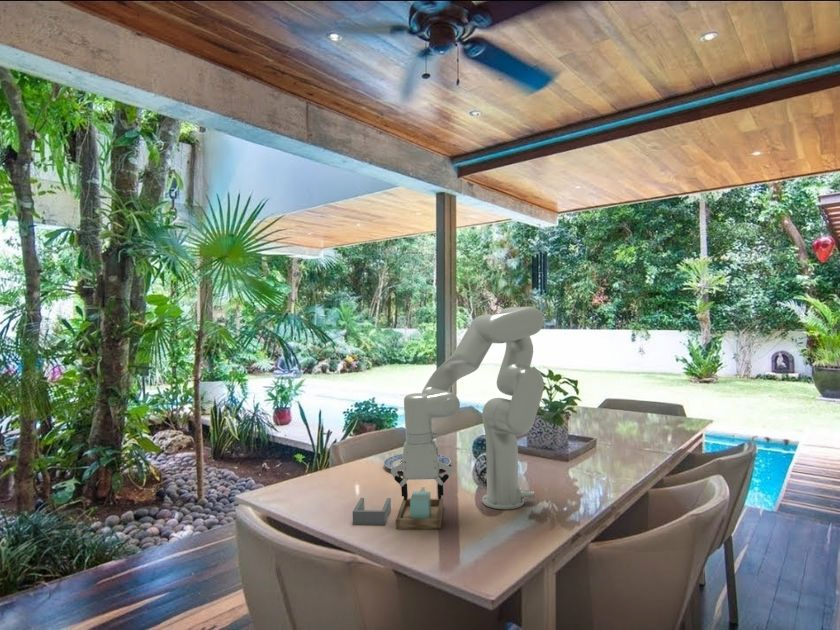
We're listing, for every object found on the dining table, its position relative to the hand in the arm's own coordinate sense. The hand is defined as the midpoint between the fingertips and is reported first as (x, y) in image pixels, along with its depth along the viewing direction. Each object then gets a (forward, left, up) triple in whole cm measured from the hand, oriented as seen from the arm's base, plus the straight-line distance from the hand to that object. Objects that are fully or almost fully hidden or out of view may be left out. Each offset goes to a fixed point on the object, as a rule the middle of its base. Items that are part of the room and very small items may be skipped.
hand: (422, 498), depth 144 cm
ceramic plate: (+7, -52, -6) cm, 53 cm away
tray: (+1, -1, -6) cm, 6 cm away
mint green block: (+1, -2, -5) cm, 6 cm away
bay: (+15, -2, -6) cm, 16 cm away
